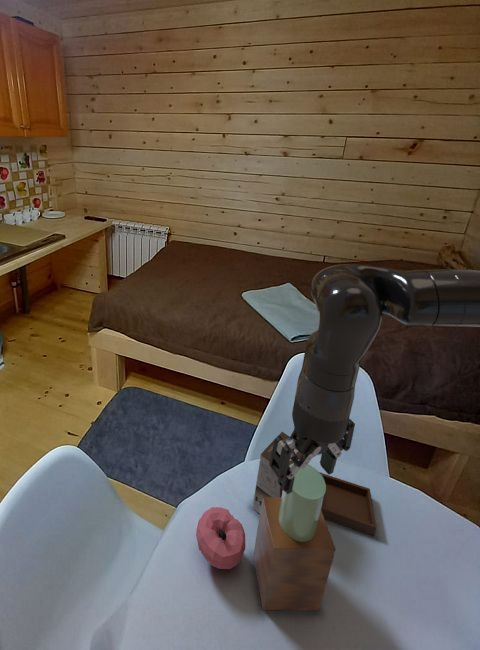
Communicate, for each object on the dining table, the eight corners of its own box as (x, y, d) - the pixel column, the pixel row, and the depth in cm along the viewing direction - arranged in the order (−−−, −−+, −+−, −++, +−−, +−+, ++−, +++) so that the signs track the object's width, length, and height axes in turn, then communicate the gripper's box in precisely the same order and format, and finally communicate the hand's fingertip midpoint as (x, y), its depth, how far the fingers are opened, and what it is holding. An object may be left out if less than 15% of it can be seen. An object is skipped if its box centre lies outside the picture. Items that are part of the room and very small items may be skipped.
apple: (251, 561, 67) (256, 527, 64) (222, 599, 62) (226, 564, 58) (215, 521, 74) (218, 488, 71) (186, 551, 69) (187, 517, 65)
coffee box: (277, 530, 72) (287, 476, 67) (251, 507, 77) (259, 454, 71) (297, 499, 79) (308, 447, 73) (273, 480, 83) (281, 429, 78)
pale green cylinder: (298, 497, 62) (306, 457, 59) (324, 532, 57) (334, 490, 54) (270, 510, 60) (277, 469, 57) (294, 548, 55) (304, 506, 52)
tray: (367, 496, 80) (369, 488, 79) (373, 536, 72) (376, 528, 71) (314, 478, 83) (315, 471, 83) (314, 514, 76) (316, 506, 75)
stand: (303, 557, 68) (316, 497, 62) (318, 611, 61) (335, 549, 55) (253, 556, 68) (262, 496, 62) (262, 610, 60) (274, 547, 55)
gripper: (302, 434, 44) (286, 519, 49) (380, 403, 49) (357, 483, 55) (266, 394, 50) (255, 473, 56) (338, 370, 56) (322, 445, 61)
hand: (306, 478), depth 55 cm, fingers open, 8 cm apart
